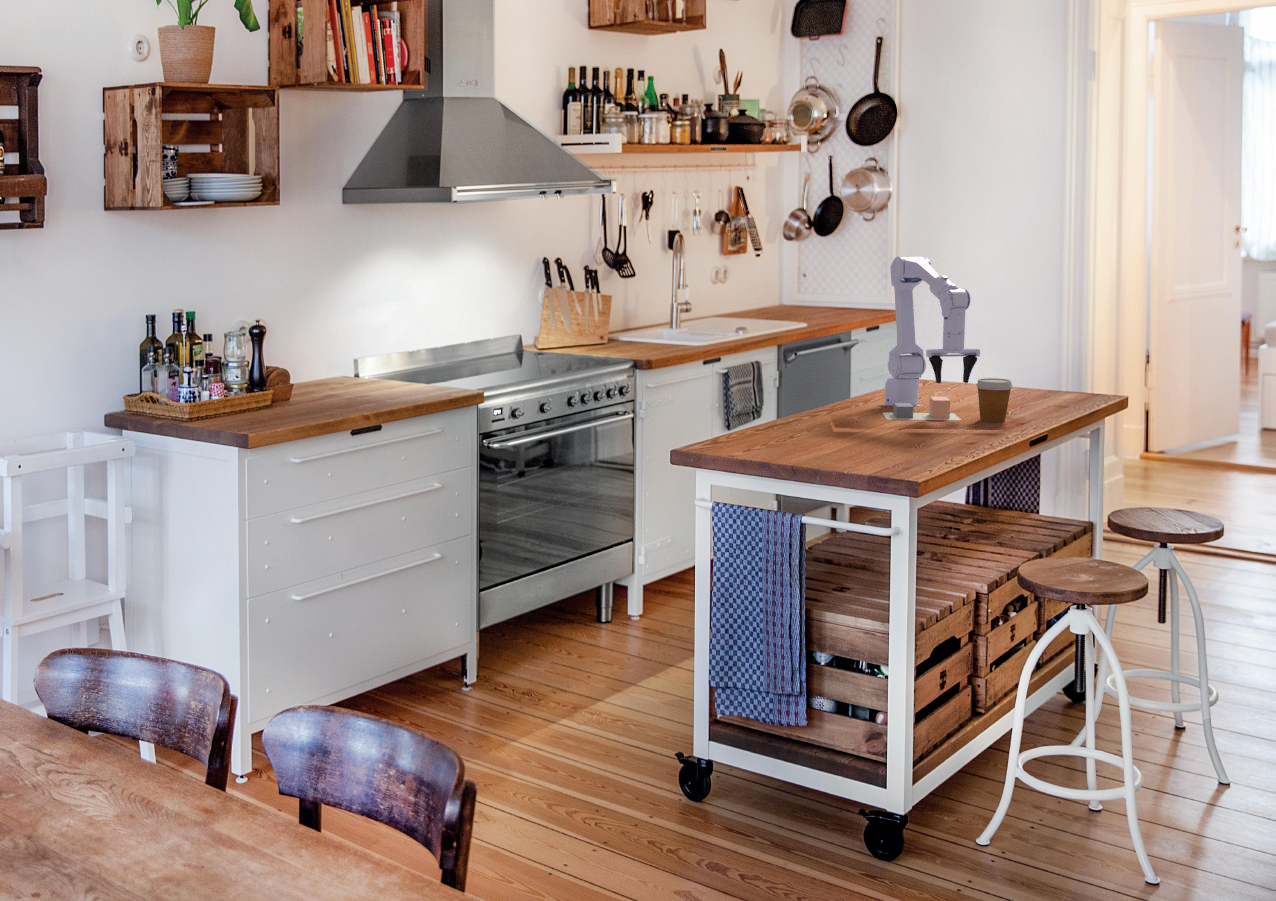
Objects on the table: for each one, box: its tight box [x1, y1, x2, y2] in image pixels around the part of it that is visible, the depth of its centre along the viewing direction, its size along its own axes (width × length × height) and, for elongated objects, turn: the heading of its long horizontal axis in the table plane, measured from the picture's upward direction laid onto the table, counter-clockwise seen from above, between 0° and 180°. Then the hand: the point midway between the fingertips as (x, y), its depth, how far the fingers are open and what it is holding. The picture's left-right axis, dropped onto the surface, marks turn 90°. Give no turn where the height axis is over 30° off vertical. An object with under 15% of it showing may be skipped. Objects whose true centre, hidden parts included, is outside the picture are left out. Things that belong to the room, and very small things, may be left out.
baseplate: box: [882, 412, 962, 421], centre depth 348 cm, size 20×12×1 cm, turn 85°
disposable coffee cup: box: [975, 377, 1013, 423], centre depth 340 cm, size 10×10×12 cm
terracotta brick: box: [928, 396, 951, 419], centre depth 347 cm, size 4×7×5 cm, turn 175°
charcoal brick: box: [892, 403, 914, 418], centre depth 348 cm, size 4×7×3 cm, turn 175°
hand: (952, 382), depth 346 cm, fingers open, 7 cm apart
